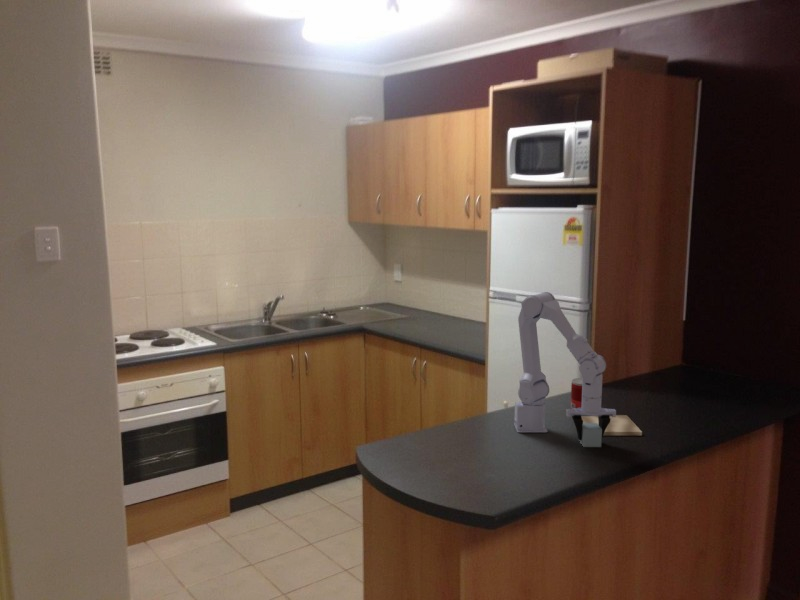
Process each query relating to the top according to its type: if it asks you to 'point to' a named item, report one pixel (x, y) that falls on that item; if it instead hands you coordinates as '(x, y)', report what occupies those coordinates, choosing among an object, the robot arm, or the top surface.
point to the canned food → (576, 393)
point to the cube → (591, 435)
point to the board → (616, 425)
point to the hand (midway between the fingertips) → (589, 439)
